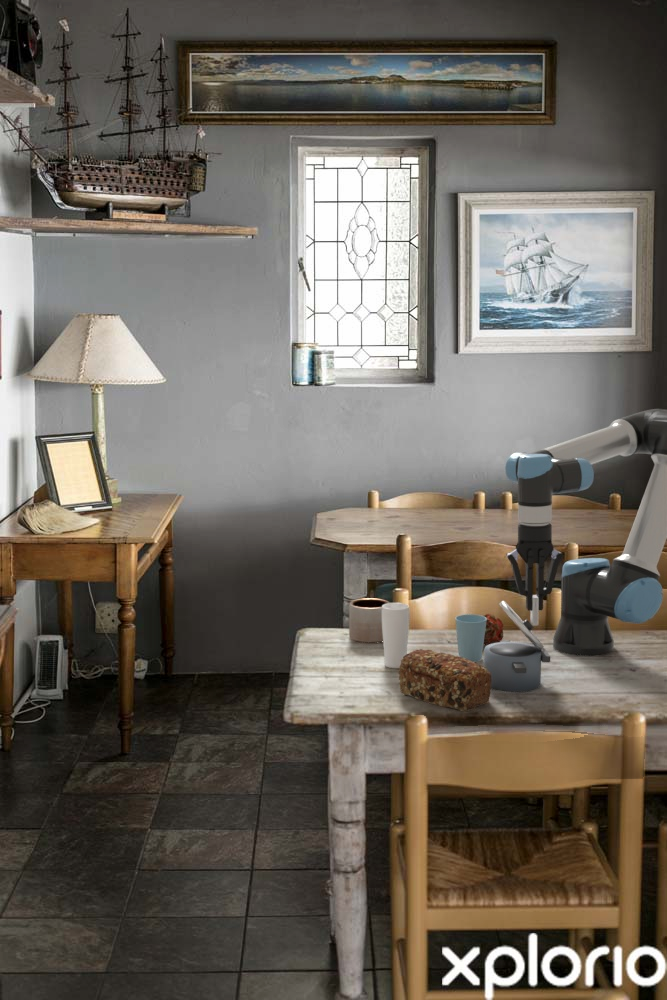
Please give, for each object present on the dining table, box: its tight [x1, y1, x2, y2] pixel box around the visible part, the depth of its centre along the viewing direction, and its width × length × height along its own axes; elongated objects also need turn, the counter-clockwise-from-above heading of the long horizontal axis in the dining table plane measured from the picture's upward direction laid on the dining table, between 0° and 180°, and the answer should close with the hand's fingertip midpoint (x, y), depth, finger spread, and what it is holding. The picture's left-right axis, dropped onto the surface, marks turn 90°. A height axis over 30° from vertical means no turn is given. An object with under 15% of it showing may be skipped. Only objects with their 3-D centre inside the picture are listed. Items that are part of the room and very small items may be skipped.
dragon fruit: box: [483, 613, 504, 647], centre depth 290 cm, size 8×8×12 cm
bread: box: [398, 648, 492, 712], centre depth 249 cm, size 19×11×10 cm, turn 48°
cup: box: [454, 613, 487, 663], centre depth 277 cm, size 8×8×10 cm
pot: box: [483, 640, 551, 694], centre depth 259 cm, size 15×21×8 cm
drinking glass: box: [382, 602, 411, 669], centre depth 271 cm, size 7×7×15 cm
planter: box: [348, 597, 391, 644], centre depth 295 cm, size 11×11×10 cm
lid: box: [499, 600, 545, 653], centre depth 257 cm, size 14×14×2 cm
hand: (534, 623), depth 257 cm, fingers closed
